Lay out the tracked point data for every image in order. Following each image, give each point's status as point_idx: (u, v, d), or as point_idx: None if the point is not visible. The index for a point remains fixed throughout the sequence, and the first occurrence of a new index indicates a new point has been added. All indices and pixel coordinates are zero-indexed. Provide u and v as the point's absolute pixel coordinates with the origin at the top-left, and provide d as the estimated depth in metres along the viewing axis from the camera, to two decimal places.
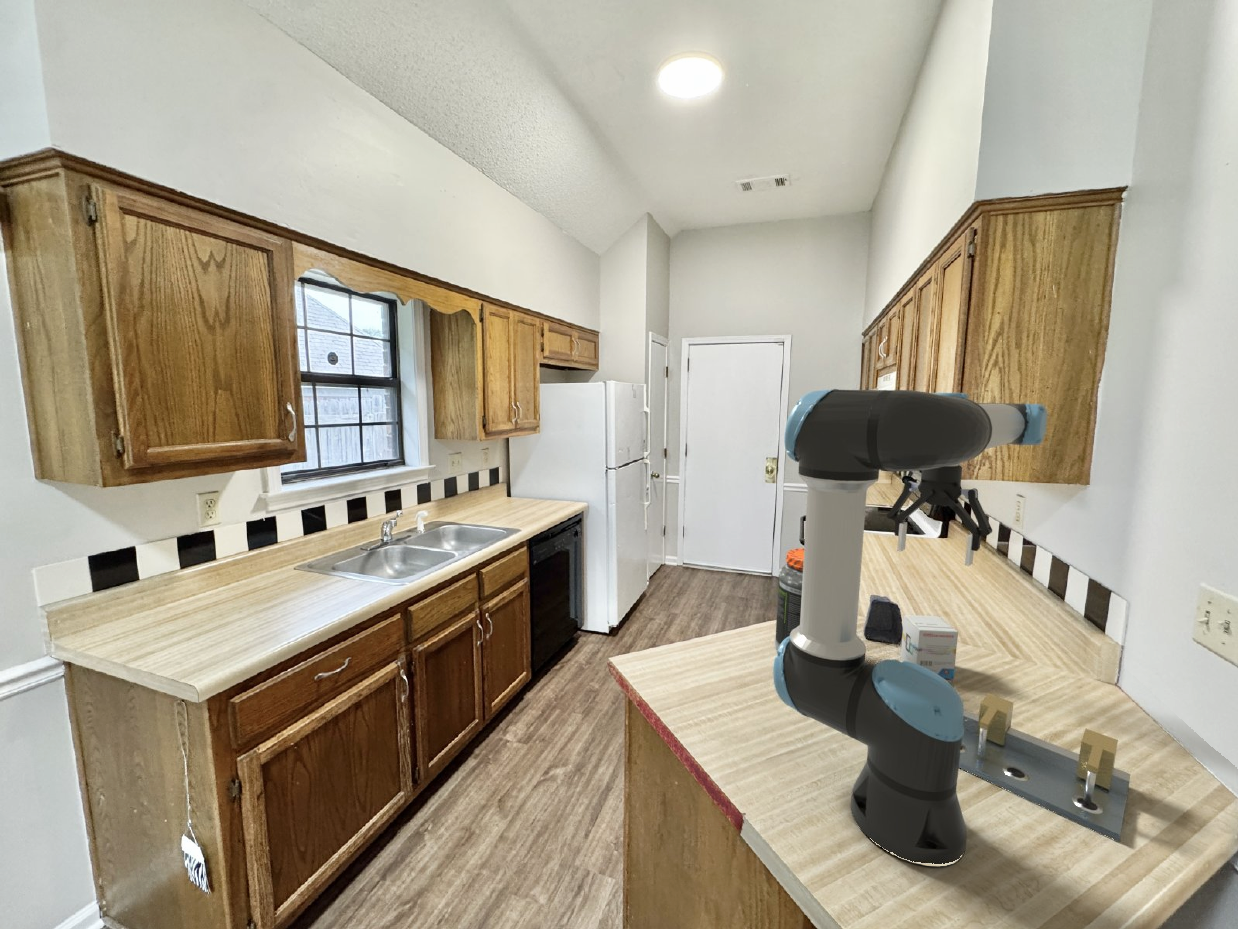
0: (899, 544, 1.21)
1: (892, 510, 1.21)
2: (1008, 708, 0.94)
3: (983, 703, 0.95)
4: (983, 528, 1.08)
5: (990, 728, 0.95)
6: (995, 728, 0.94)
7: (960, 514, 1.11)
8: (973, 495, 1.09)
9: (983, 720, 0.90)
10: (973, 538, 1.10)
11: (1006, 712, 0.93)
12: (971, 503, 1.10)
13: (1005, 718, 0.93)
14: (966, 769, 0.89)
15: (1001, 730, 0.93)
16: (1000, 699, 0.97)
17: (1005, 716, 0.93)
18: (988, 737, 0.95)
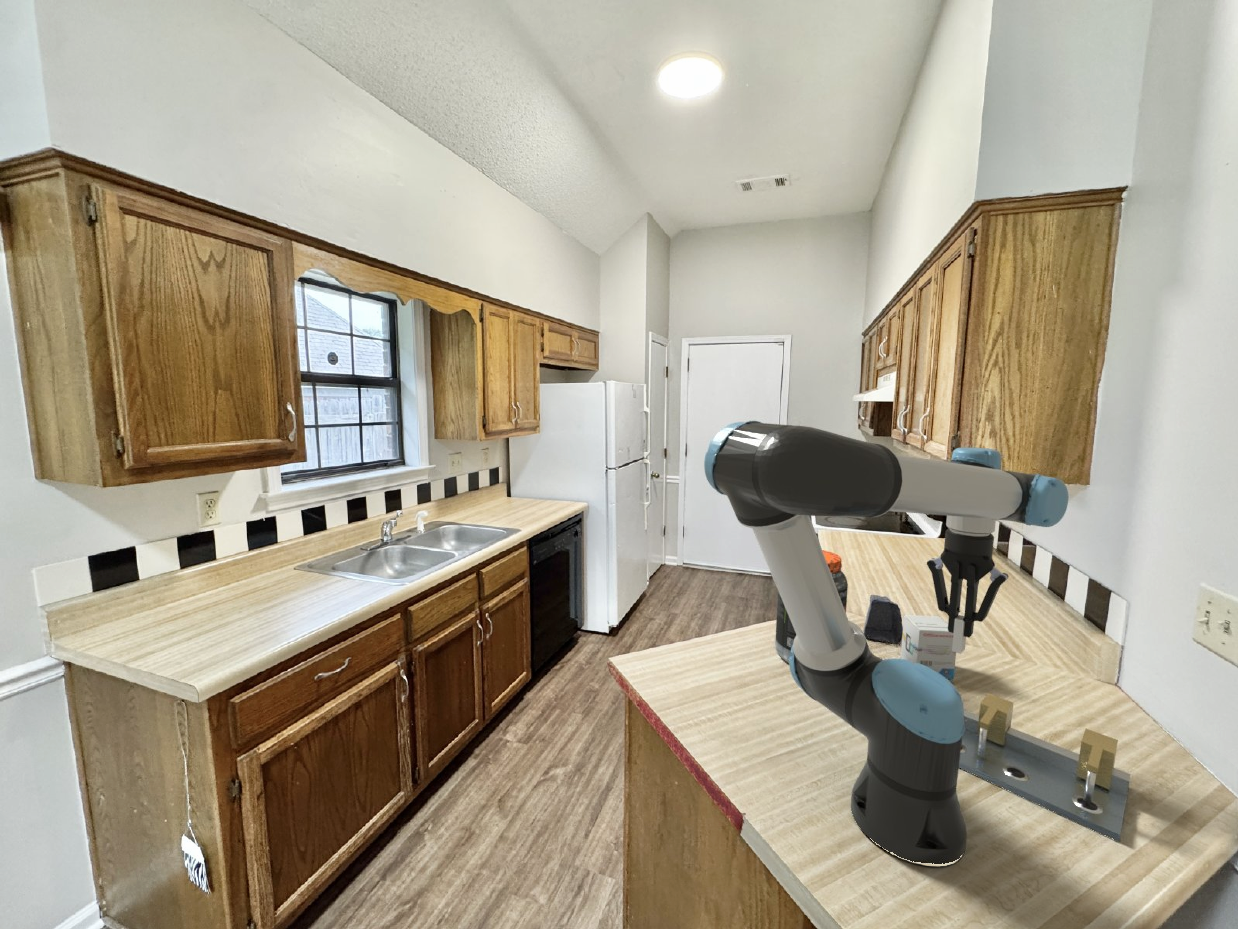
0: (954, 643, 0.99)
1: (939, 600, 1.00)
2: (1008, 708, 0.94)
3: (983, 703, 0.95)
4: (981, 614, 0.95)
5: (990, 728, 0.95)
6: (995, 728, 0.94)
7: (970, 594, 0.96)
8: (1000, 583, 0.93)
9: (983, 720, 0.90)
10: (965, 623, 0.98)
11: (1006, 712, 0.93)
12: (991, 587, 0.94)
13: (1005, 718, 0.93)
14: (966, 769, 0.89)
15: (1001, 730, 0.93)
16: (1000, 699, 0.97)
17: (1005, 716, 0.93)
18: (988, 737, 0.95)
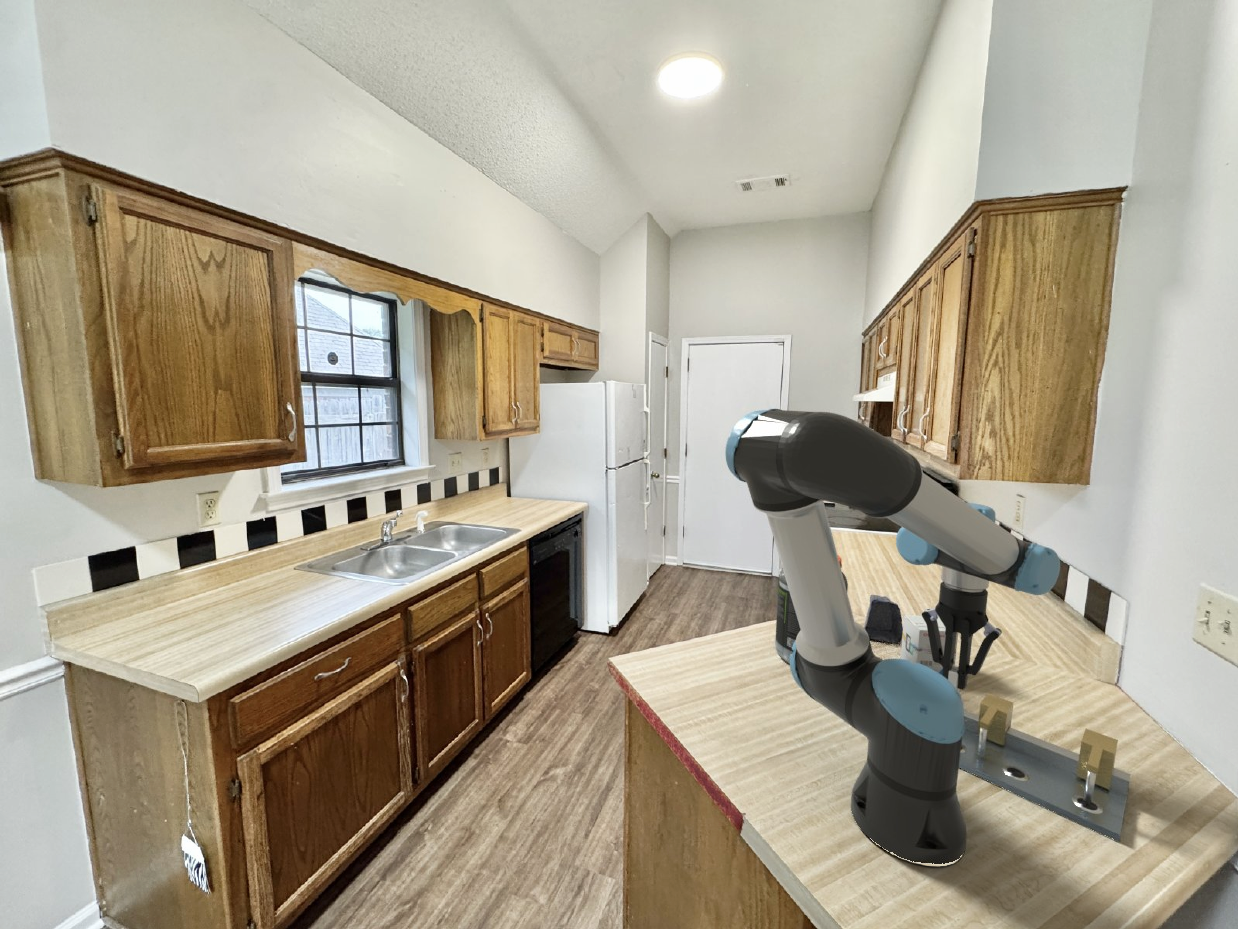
0: None
1: (933, 651, 1.02)
2: (1008, 708, 0.94)
3: (983, 703, 0.95)
4: (974, 668, 0.97)
5: (990, 728, 0.95)
6: (995, 728, 0.94)
7: (964, 648, 0.98)
8: (993, 639, 0.94)
9: (983, 720, 0.90)
10: (959, 675, 0.99)
11: (1006, 712, 0.93)
12: (984, 642, 0.95)
13: (1005, 718, 0.93)
14: (966, 769, 0.89)
15: (1001, 730, 0.93)
16: (1000, 699, 0.97)
17: (1005, 716, 0.93)
18: (988, 737, 0.95)
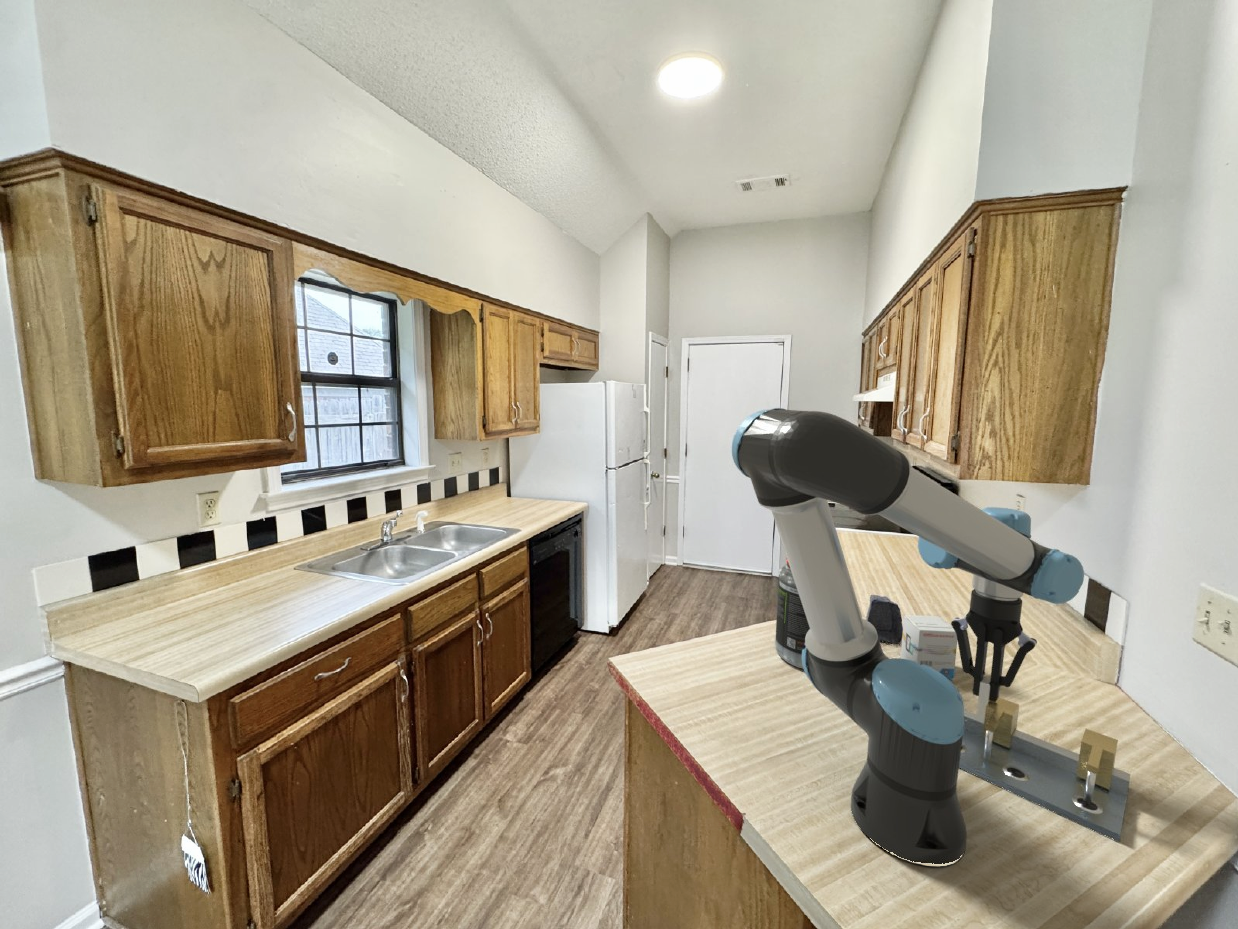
0: (979, 707, 0.97)
1: (963, 661, 0.98)
2: (1014, 710, 0.93)
3: (989, 705, 0.95)
4: (1008, 679, 0.93)
5: (996, 730, 0.94)
6: (1001, 730, 0.93)
7: (996, 658, 0.94)
8: (1029, 649, 0.90)
9: (989, 722, 0.90)
10: (991, 687, 0.96)
11: (1012, 714, 0.92)
12: (1019, 653, 0.92)
13: (1011, 720, 0.92)
14: (966, 769, 0.89)
15: (1007, 732, 0.93)
16: (1006, 701, 0.96)
17: (1011, 718, 0.92)
18: (994, 739, 0.94)
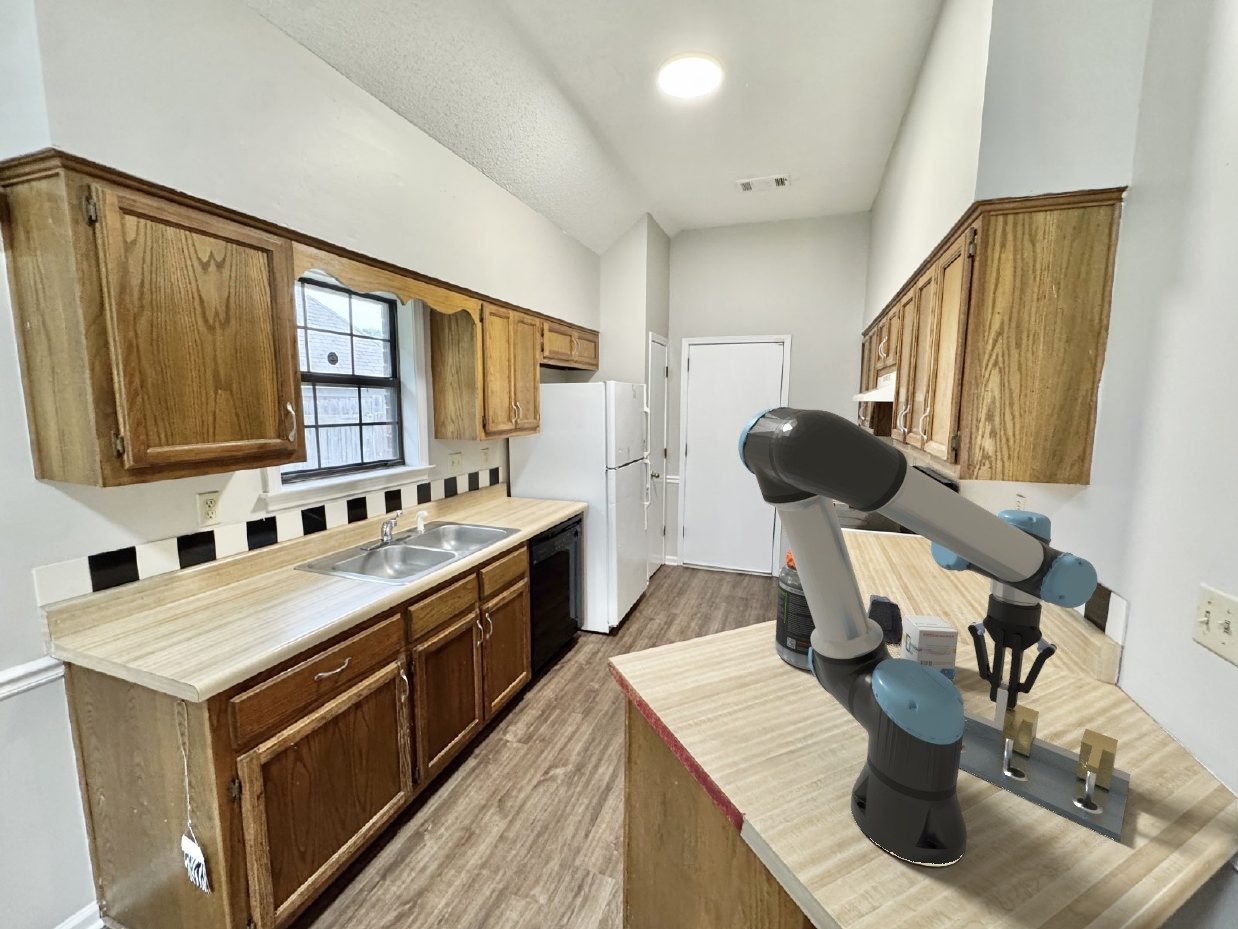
0: (997, 714, 0.95)
1: (980, 667, 0.96)
2: (1034, 717, 0.91)
3: (1008, 712, 0.93)
4: (1027, 686, 0.91)
5: (1015, 738, 0.92)
6: (1020, 738, 0.91)
7: (1015, 664, 0.92)
8: (1049, 655, 0.88)
9: (1009, 730, 0.88)
10: (1009, 693, 0.94)
11: (1032, 722, 0.90)
12: (1038, 659, 0.90)
13: (1031, 728, 0.90)
14: (966, 769, 0.89)
15: (1027, 740, 0.91)
16: (1025, 708, 0.94)
17: (1031, 726, 0.90)
18: (1013, 747, 0.92)
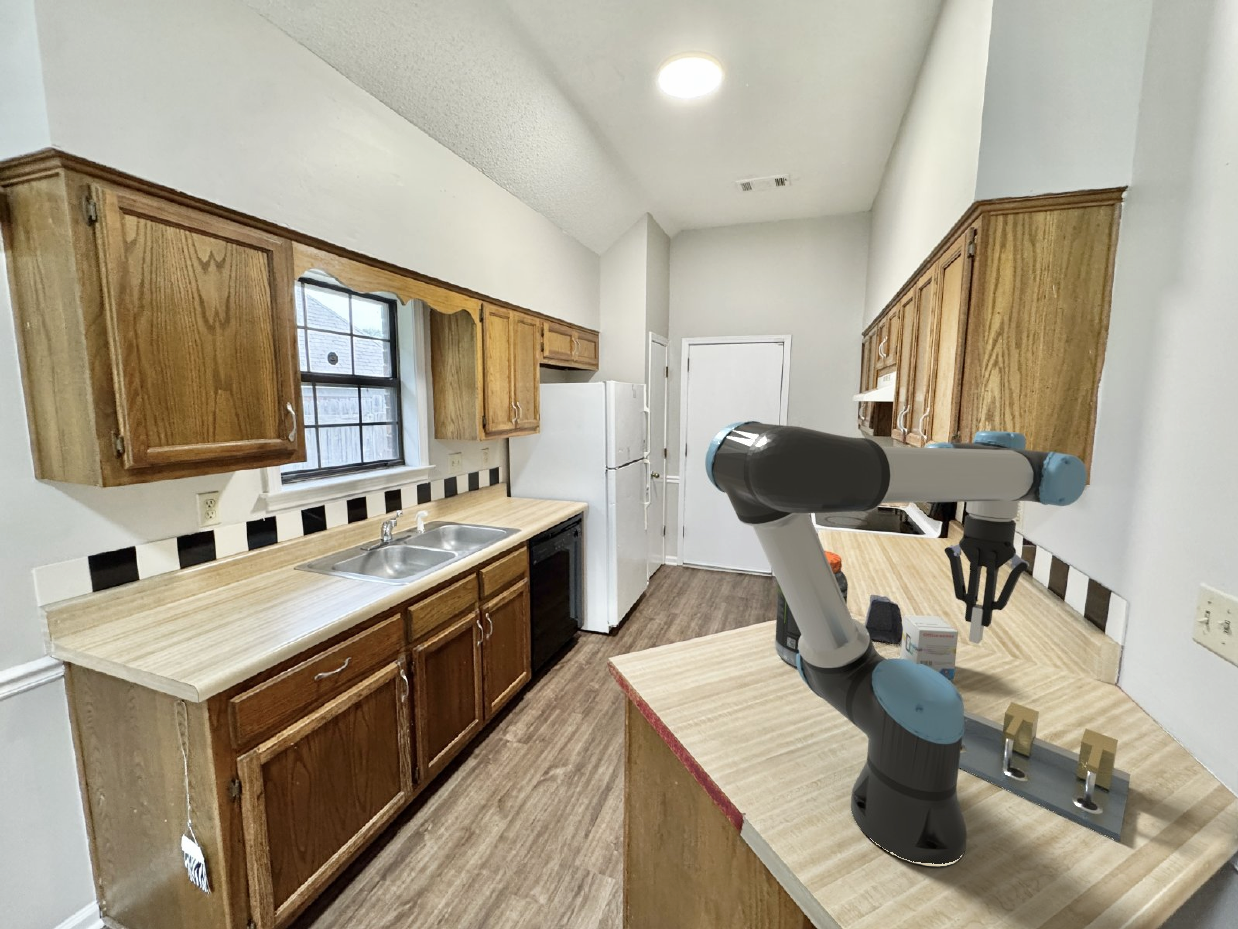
0: (972, 633, 0.96)
1: (956, 588, 0.98)
2: (1034, 717, 0.91)
3: (1008, 712, 0.93)
4: (1000, 602, 0.93)
5: (1015, 738, 0.92)
6: (1020, 738, 0.91)
7: (989, 582, 0.94)
8: (1022, 570, 0.90)
9: (1009, 730, 0.88)
10: (984, 612, 0.95)
11: (1032, 722, 0.90)
12: (1012, 575, 0.91)
13: (1031, 728, 0.90)
14: (966, 769, 0.89)
15: (1027, 740, 0.91)
16: (1025, 708, 0.94)
17: (1031, 726, 0.90)
18: (1013, 747, 0.92)
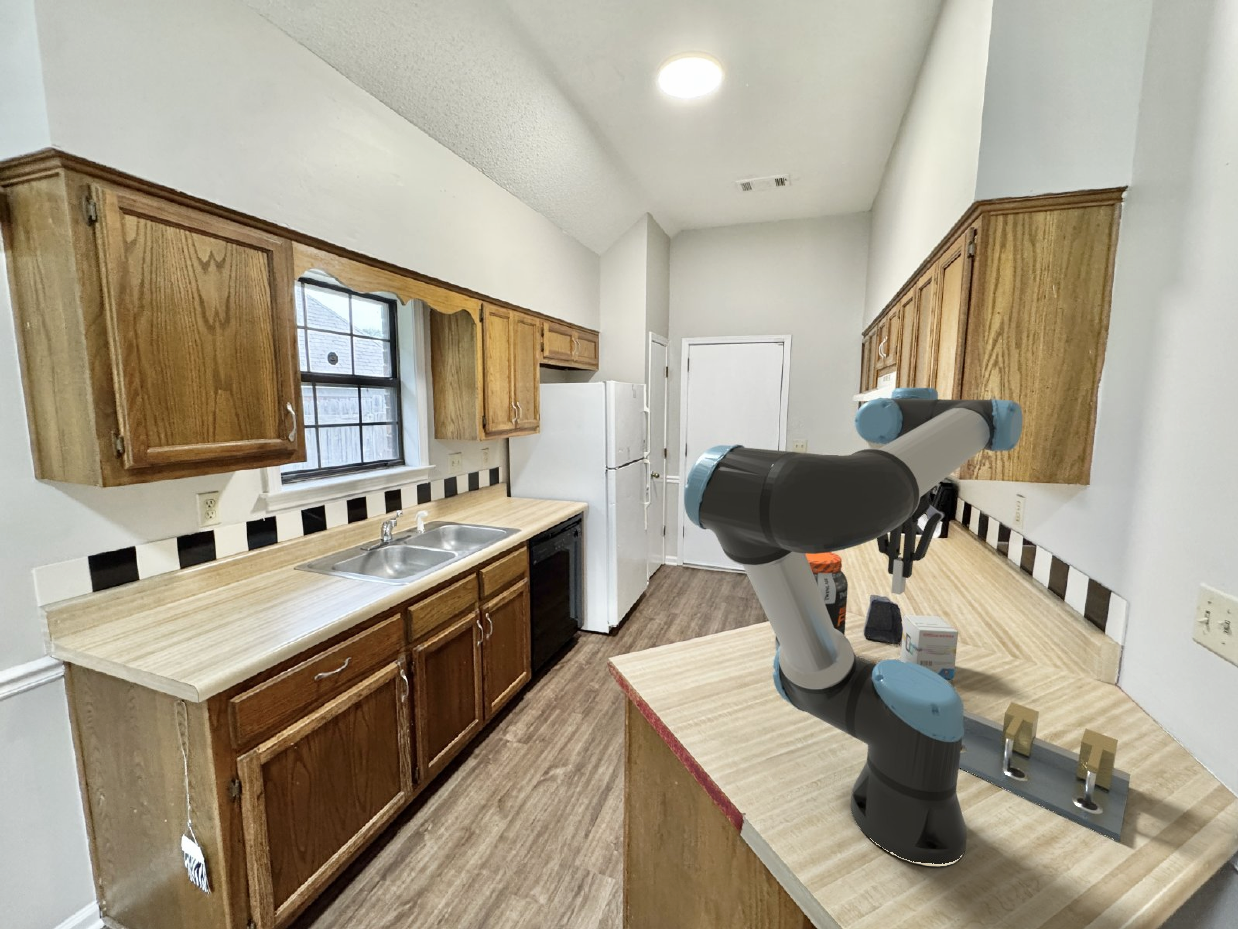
0: (894, 585, 0.99)
1: (879, 542, 1.01)
2: (1034, 717, 0.91)
3: (1008, 712, 0.93)
4: (918, 553, 0.96)
5: (1015, 738, 0.92)
6: (1020, 738, 0.91)
7: (908, 534, 0.97)
8: (936, 520, 0.93)
9: (1009, 730, 0.88)
10: (904, 563, 0.98)
11: (1032, 722, 0.90)
12: (927, 525, 0.94)
13: (1031, 728, 0.90)
14: (966, 769, 0.89)
15: (1027, 740, 0.91)
16: (1025, 708, 0.94)
17: (1031, 726, 0.90)
18: (1013, 747, 0.92)
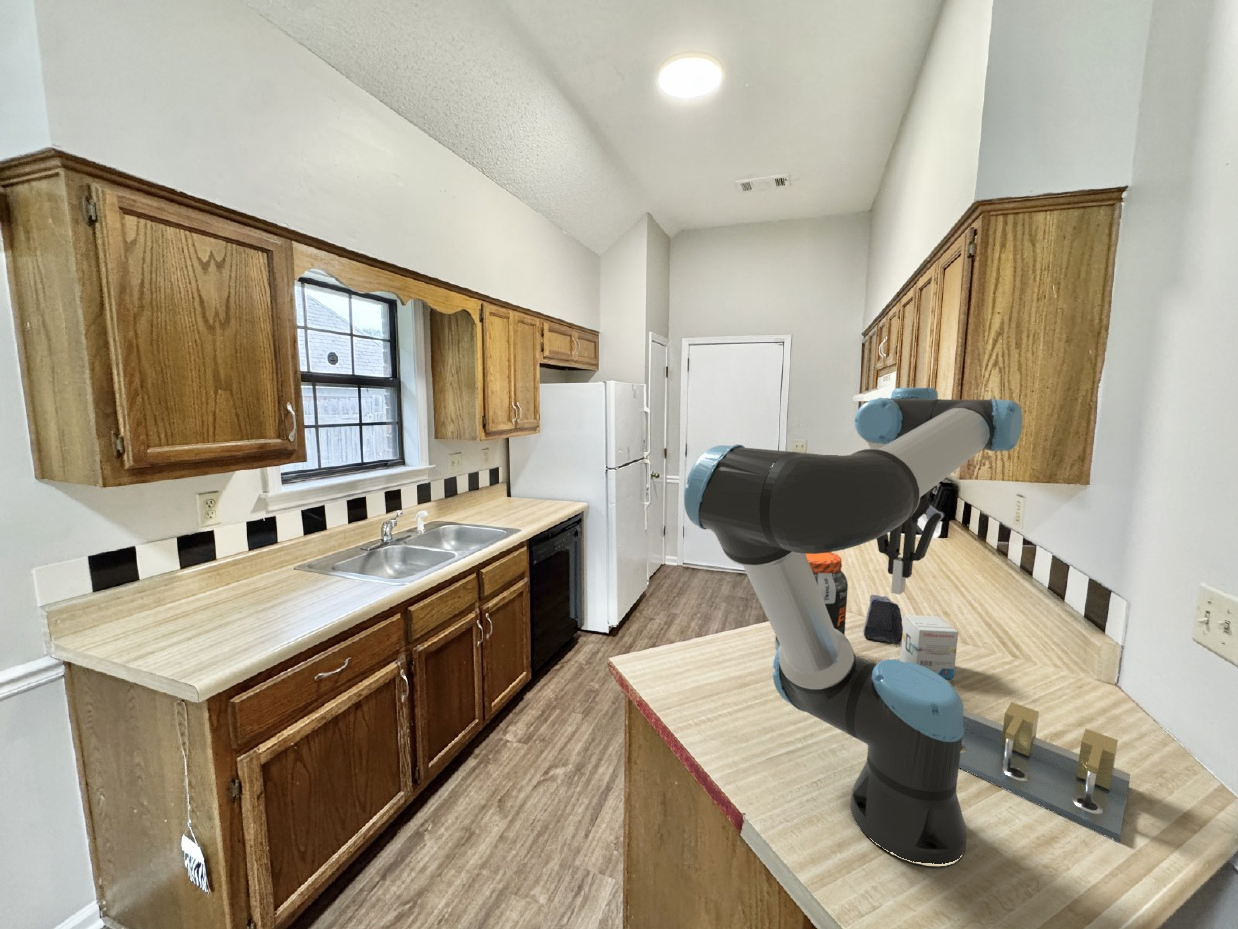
0: (893, 585, 0.99)
1: (879, 542, 1.01)
2: (1034, 717, 0.91)
3: (1008, 712, 0.93)
4: (918, 553, 0.96)
5: (1015, 738, 0.92)
6: (1020, 738, 0.91)
7: (908, 534, 0.97)
8: (936, 520, 0.93)
9: (1009, 730, 0.88)
10: (904, 563, 0.98)
11: (1032, 722, 0.90)
12: (927, 525, 0.94)
13: (1031, 728, 0.90)
14: (966, 769, 0.89)
15: (1027, 740, 0.91)
16: (1025, 708, 0.94)
17: (1031, 726, 0.90)
18: (1013, 747, 0.92)
